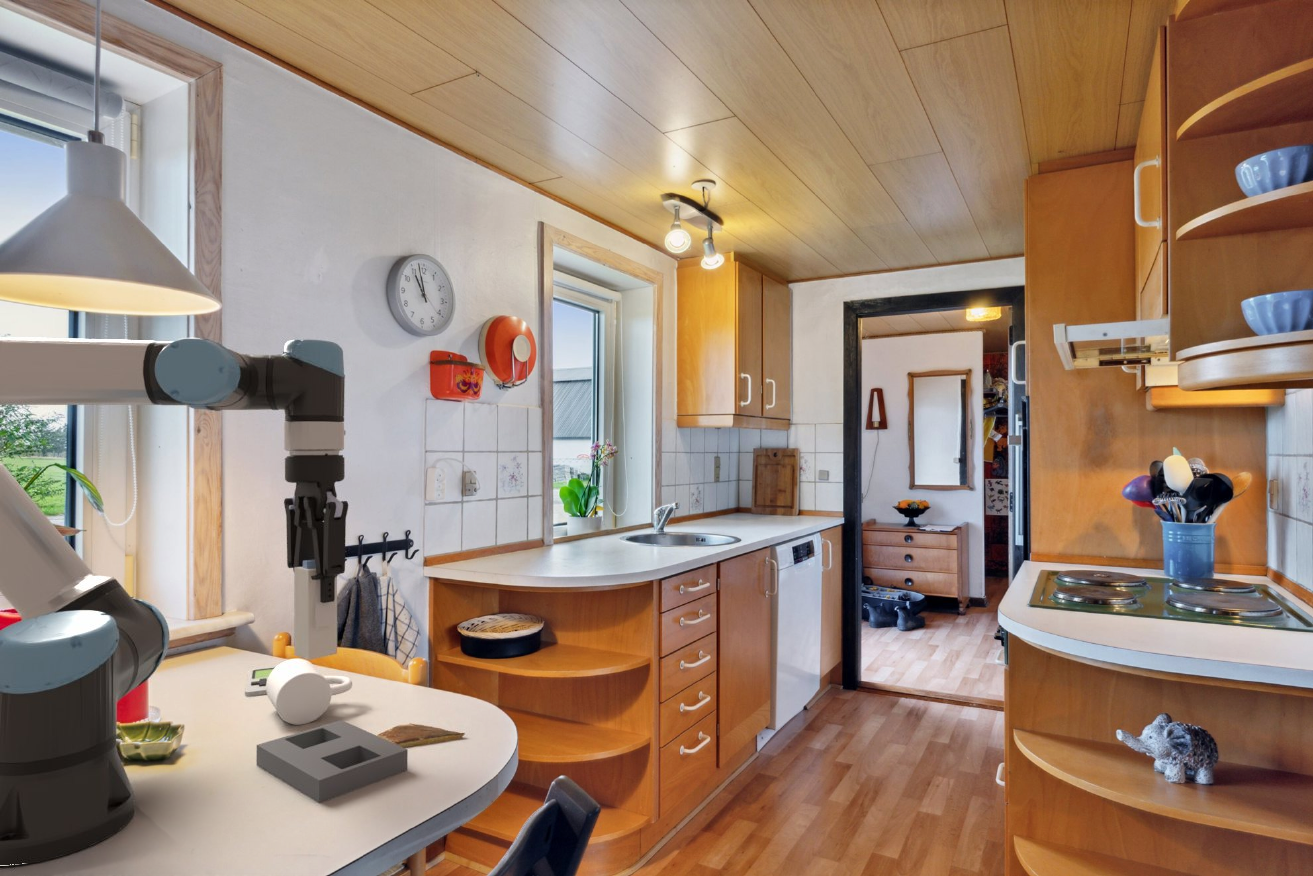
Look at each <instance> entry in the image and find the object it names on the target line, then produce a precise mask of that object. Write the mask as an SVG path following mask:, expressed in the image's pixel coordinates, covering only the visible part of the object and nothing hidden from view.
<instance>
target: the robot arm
mask: <svg viewBox="0 0 1313 876" xmlns="http://www.w3.org/2000/svg"><path fill="white" fill-rule="evenodd" d="M344 364H345V363H344V351H343V348H342V347H341V346H340V345H339V344H338V343H336V342H333V341H328V340H322V339H321V340H320V339H292V340H288V341H287V342H286V343H285V344H284V350H283V351H282V354H270V355H269V354H249V353H248V354H247V353H239V352H236V351H234V350H233V349H229V348H227V347H226V346H224V345H223V344H222V343H219V342H216V341H213V340H212V339H209V338H208V339H207V338H200V337H199V338H198V337H183V338H179V339H177V340H159V341H158V340H142V339H141V340H137V339H135V340H133V339H132V340H131V339H99V338H98V339H96V338H91V339H89V338H54V337H53V338H51V337H49V338H47V337H43V338H42V337H9V336H8V337H7V336H6V337H3V336H2V337H0V406H21V405H22V406H49V405H50V406H75V405H77V406H80V405H81V406H95V405H96V406H111V405H112V406H128V405H129V406H134V405H135V406H139V405H140V406H142V405H143V406H188V407H189V408H191V409H194V410H206V411H215V412H221V411H246V410H247V411H253V410H254V411H256V410H262V411H263V410H267V411H269V410H272V411H280V410H284V428H283V429H284V438H283V439H284V440H283V442H284V445H283V446H284V450H285V451H286V452H289V453H288V454H289V455H286V457H285V458H284V480H285V481H286V482H287V483H290V484H291V483H293V484H295V489H294V495H293V497H289V498H287V497H286V498H284V499H283V500H284V501H283V504H284V509H285V515H286V516H285V517H286V520H285V521H286V562H287V563H286V564H287V568H289V569H293V570H292V571H293V572H294V568H295V567H302V566H303V561H305V560H313V559H315V566H316V575H314V576H311V578H312V580H313V628H319V627H324V626H329V625H334V624H335V577H337V578H338V576H339V575H342V574H345V571H346V533H347V532H346V530H347V529H346V527H347V525H346V523H347V515H348V510H349V503H348V501H346V500H342V501H340V500H339V499H338V497H337V496H338V495H337V491H336V486H335V485H336V483H337V482H338V483H339V482H342V481H344V480H345V468H346V467H345V457H344V455H343V454H340V451H344V449H345V436H346V432H347V431H346V430H345V387H346V386H345V385H346V384H345V382H346V381H345V380H346V379H345V378H346V374H345V367H344V366H345V365H344ZM0 593H1V594H2V596H3V597H4V598H5V599H6V600H7V601H8V603H9V604H10V605H11V606H12V607H13V609H14V610H15V611H16V612H17V613H18V615H20V619H21V620H20V621H17V622H14V623H12V624H10V625H8V626H5V627H4V628H2V629H1V630H0V865H10V864H11V865H12V864H14V865H15V864H22V863H29V864H35V863H39V861H40V862H44V861H47V860H51V859H52V860H53V859H55V858H59V857H63V856H65V855H68V854H72V853H75V852H77V851H80V850H83V849H86V848H88V847H91V846H93V845H95V844H97V843H99V842H101V841H103V840H107V838H109V837H111V836H113V835H114V834H116V833H117V832H119V831H120V830H122V829H123V828H124V827H125V826H126V825H128V823H130V822H131V821H132V819H133V817H134V814H135V794H134V793H135V791H134V789H133V787H132V786H133V785H131V782H130V779H129V777H128V774H127V772H126V769H125V767H124V765H123V763H122V760H121V757H120V756H119V753H118V749H117V728H118V727H117V723H118V722H117V717H118V716H117V713H118V711H117V710H118V709H117V707H118V705H117V704H118V702H119V701H120V700H121V699H122V698H124V697H125V696H126V695H128V694H130V692H132V691H134V690H135V689H137V688H138V687H140V686H141V685H142V684H143V683H145V682H147V681H148V680H149V679H150V678H151V677H152V676H153V674H154V673H155V671H156V670H157V669H158V668H159V666H160V665H161V664H162V662H163V661H164V659H165V658H166V656H167V652H168V649H169V645H170V629H169V625H168V622H167V620H166V618H165V616H164V615H163V614H162V612H161V611H160V610H159V609H158V608H157V607H155V605H153V604H151V603H150V602H148V601H145V600H144V599H143V600H142V599H139V598H134V597H131V596H130V594H129V593H128V592H127V591H126V590H125V588H124V587H123V586H122V585H121V583H120V582H119V581H118V580H117V579H116V578H115V577H114V576H108V575H100V574H95V573H94V572H93V571H92V570H91V569H90V567H89V566H88V565H87V563H85V561H84V560H83V559H82V558H81V557H80V555H79V554H78V553H77V552H76V551H75V549H74V548H73V547H72V546H71V544H69V542H68V541H67V540H66V538H64V536H63V535H62V534H61V532H60V531H59V530H58V529H57V527H56V526H55V525H54V524H53V523H52V522H51V521H50V519H49V518H48V517H47V516H46V514H45V513H44V512H43V511H42V510H41V508H40V507H39V506H38V505H37V503H36V502H35V501H34V500H33V499H32V497H31V496H30V495H29V494H28V492H27V491H26V490H25V489H24V487H22V485H21V484H20V483H19V482H18V481H17V479H16V478H15V477H14V475H12V473H11V472H10V470H8V468H7V467H6V466H5V465H4V463H3V462H2V461H1V460H0ZM34 862H35V863H34Z"/></svg>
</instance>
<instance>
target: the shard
mask: <svg viewBox="0 0 1313 876" xmlns="http://www.w3.org/2000/svg"><path fill="white" fill-rule="evenodd" d="M465 735H466V733H465V732H458V731H455V730H452V731H451V730H448V729H447V730H446V729H443V728H440V727H433V726H431V725H430V726H429V725H424V724H415V723H408V724H400V725H399V724H398V725H397V726H394V727H392V728H390V729H387V730H385V731H383V732H380V733H378V734H377V735H376V736H378V737H381V738H383V739H385V740H387V741H390V742H392V743H394V744H396V745H398V746H401V747H403V748H409V747H414V746H422V745H429V744H435V743H443V742H447V741H450V740H451V741H452V740H458V739H462V738H463V736H465Z"/></svg>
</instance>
